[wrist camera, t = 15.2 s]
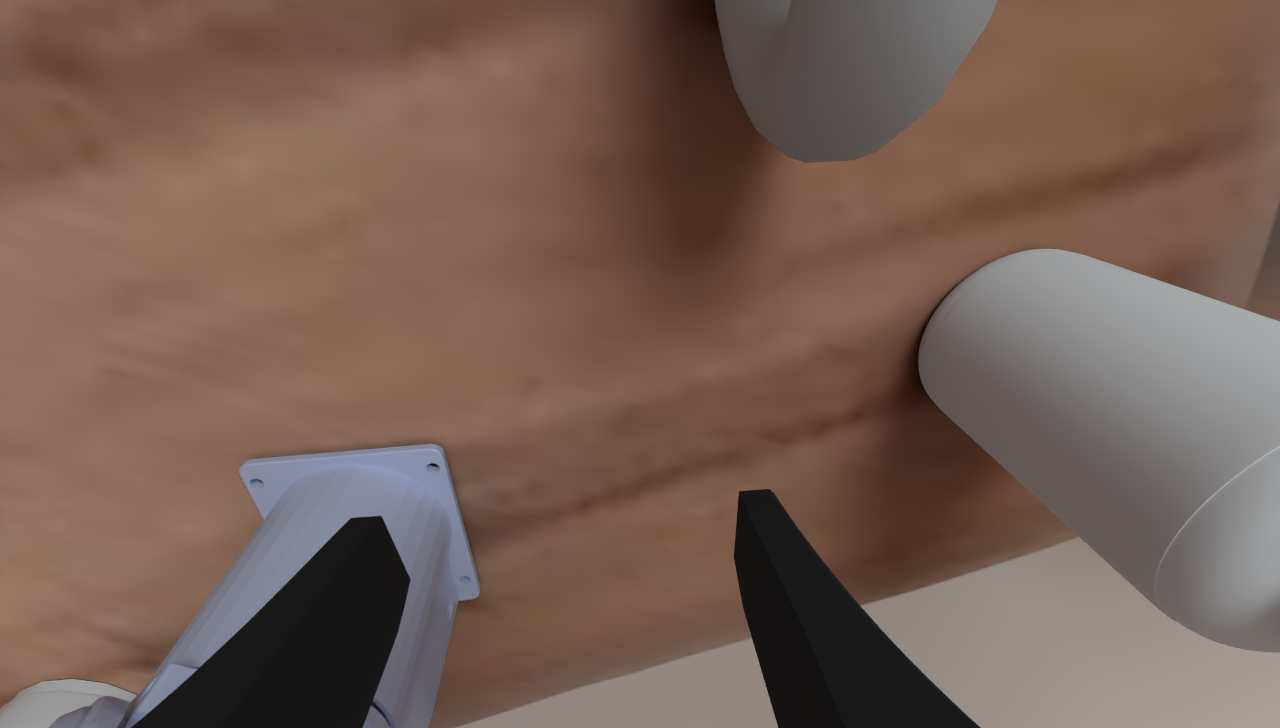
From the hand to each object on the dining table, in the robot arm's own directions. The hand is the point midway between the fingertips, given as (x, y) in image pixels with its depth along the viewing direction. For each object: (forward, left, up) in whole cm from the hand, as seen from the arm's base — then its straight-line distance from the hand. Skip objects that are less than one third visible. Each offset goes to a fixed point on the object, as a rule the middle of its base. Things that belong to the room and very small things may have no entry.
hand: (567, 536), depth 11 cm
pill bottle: (-2, -18, -11) cm, 21 cm away
